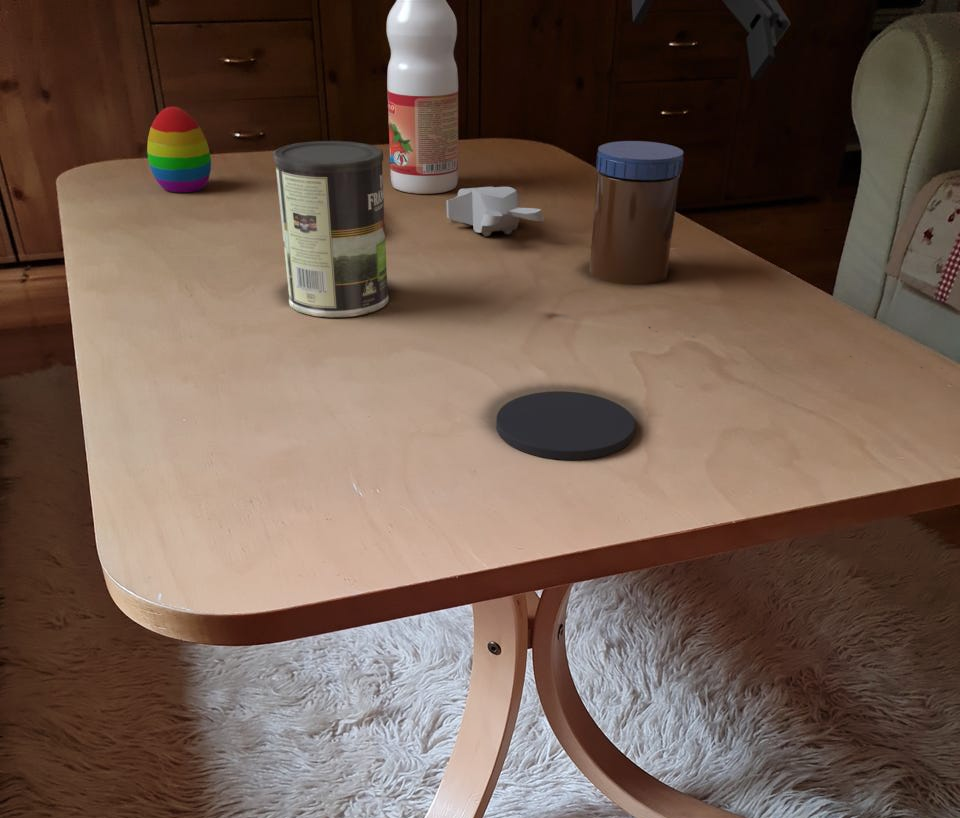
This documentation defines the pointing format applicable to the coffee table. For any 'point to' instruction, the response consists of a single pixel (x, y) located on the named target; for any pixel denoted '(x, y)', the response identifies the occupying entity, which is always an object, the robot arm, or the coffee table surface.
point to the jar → (632, 229)
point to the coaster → (565, 425)
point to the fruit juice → (422, 96)
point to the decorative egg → (178, 152)
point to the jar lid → (639, 160)
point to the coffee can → (333, 227)
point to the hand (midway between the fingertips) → (704, 40)
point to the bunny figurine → (490, 209)
